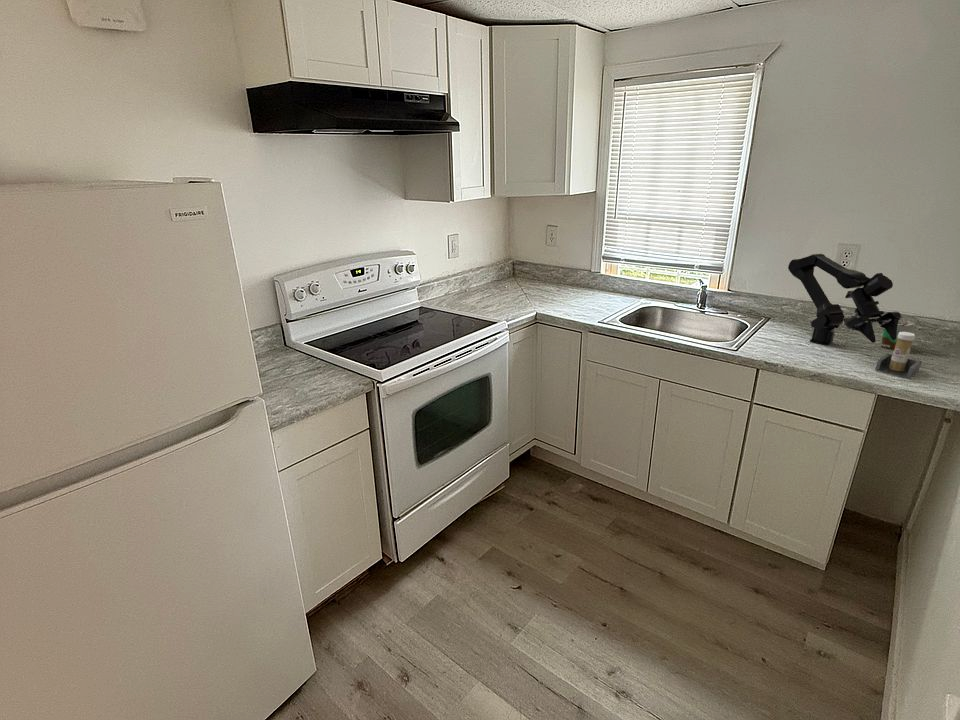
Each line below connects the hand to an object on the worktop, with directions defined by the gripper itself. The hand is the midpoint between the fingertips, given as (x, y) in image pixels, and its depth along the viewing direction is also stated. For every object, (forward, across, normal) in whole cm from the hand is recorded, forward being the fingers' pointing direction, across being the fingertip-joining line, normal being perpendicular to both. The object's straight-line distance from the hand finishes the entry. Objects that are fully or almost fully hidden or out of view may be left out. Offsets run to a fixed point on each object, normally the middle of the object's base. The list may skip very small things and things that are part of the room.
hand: (884, 341), depth 185 cm
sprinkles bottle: (+11, 0, -1) cm, 11 cm away
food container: (-1, -22, -14) cm, 26 cm away
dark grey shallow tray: (+11, 0, -1) cm, 11 cm away
